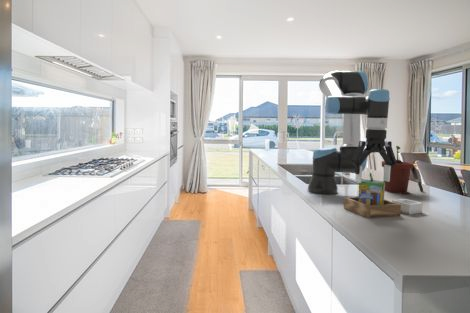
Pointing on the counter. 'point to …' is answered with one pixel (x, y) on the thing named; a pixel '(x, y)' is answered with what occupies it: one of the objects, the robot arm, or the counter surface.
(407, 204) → the white tub
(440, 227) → the counter surface
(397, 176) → the potted plant
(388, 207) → the crate
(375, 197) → the chalk box
